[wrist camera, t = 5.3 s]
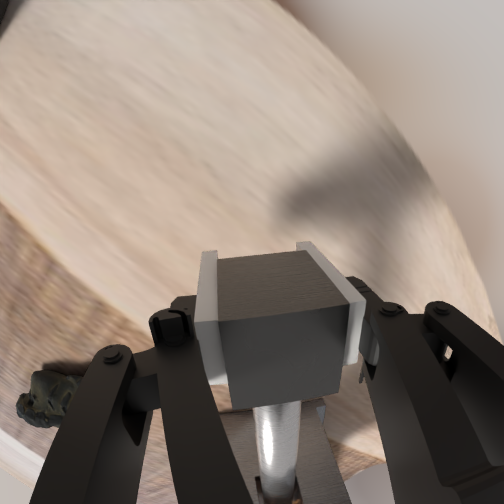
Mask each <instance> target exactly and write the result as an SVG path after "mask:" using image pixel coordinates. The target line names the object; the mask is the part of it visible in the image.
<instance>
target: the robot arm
mask: <svg viewBox="0 0 504 504" xmlns="http://www.w3.org/2000/svg"><path fill="white" fill-rule="evenodd" d="M7 4H8V0H0V23H1V21H2V18H3V16H4V13H5V10H6V7H7ZM301 250H306V251H307V252H308V253H309V254H310V255H311V257H312V258H313V259H314V260H315V261H316V263H317V264H318V265H319V266H320V267H321V269H322V270H323V271H324V272H325V273H326V275H327V276H328V277H329V278H330V280H331V281H332V282H333V283H334V284H335V286H336V287H337V288H338V289H339V291H340V292H341V293H342V294H343V295H344V297H345V298H346V299H347V300H348V302H349V303H350V309H349V319H348V328H347V337H346V345H345V352H344V359H343V366H344V365H349V364H353V363H357V359H358V354H359V351H360V353H361V354H362V356H363V357H364V358H363V363H362V368H361V373H360V378H359V383H362V381H363V378H364V377H365V380H366V384H367V387H368V391H369V394H370V398H371V401H372V405H373V409H374V413H375V416H376V420H377V424H378V428H379V432H380V436H381V440H382V444H383V449H384V453H385V457H386V462H387V466H388V471H389V475H390V480H391V485H392V490H393V495H394V500H395V504H504V346H503V345H502V344H501V343H500V342H498V341H497V340H496V339H495V338H494V337H492V336H491V335H490V334H489V333H487V332H486V331H485V330H484V329H482V328H481V327H480V326H479V325H477V324H476V323H475V322H473V321H472V320H471V319H470V318H468V317H467V316H466V315H464V314H463V313H462V312H460V311H459V310H458V309H456V308H455V307H454V306H452V305H450V304H448V303H445V302H443V301H435V302H430V303H428V304H427V305H426V307H425V312H424V314H408V312H407V311H406V309H405V308H404V307H403V306H401V305H399V304H396V303H392V302H383V301H382V300H381V299H380V298H379V297H378V296H377V295H376V294H375V293H374V292H373V291H372V290H371V289H370V288H369V287H368V286H367V285H366V284H365V283H364V282H363V281H362V280H360V279H358V278H356V277H354V276H352V277H344V276H343V275H342V274H341V273H340V272H339V270H338V269H337V268H336V267H335V266H334V265H333V264H332V263H331V262H330V261H329V260H328V259H327V258H326V257H325V256H324V255H323V254H322V253H321V252H320V251H319V250H318V249H317V248H316V247H315V246H314V245H313V244H312V243H311V242H310V241H308V242H297V243H296V251H301ZM217 259H218V254H217V250H214V251H204V252H202V257H201V264H200V272H199V281H198V289H197V295H192V296H180V297H177V298H176V299H175V300H174V301H173V302H172V303H171V306H170V308H167V309H164V310H160V311H158V312H156V313H154V314H153V315H152V316H151V317H150V319H149V326H150V330H151V333H152V337H153V341H154V344H155V347H153V348H151V349H149V350H146V351H143V352H139V353H135V354H132V351H131V350H130V348H129V347H127V346H125V345H120V344H116V345H109V346H106V347H104V348H103V349H101V350H99V351H98V352H97V353H96V355H95V356H94V358H93V360H92V362H91V363H90V365H89V367H88V369H87V371H86V373H85V375H84V377H83V379H82V381H81V383H80V385H79V387H78V389H77V391H76V393H75V395H74V397H73V399H72V401H71V403H70V405H69V407H68V409H67V412H66V414H65V416H64V418H63V420H62V422H61V425H60V427H59V429H58V431H57V433H56V436H55V438H54V440H53V443H52V445H51V447H50V450H49V452H48V455H47V457H46V459H45V462H44V464H43V467H42V470H41V472H40V475H39V477H38V480H37V483H36V485H35V488H34V491H33V494H32V497H31V500H30V503H29V504H136V501H137V495H138V489H139V483H140V477H141V471H142V466H143V460H144V455H145V450H146V445H147V440H148V435H149V430H150V425H151V420H152V415H153V410H155V409H159V408H161V412H162V419H163V426H164V433H165V439H166V445H167V451H168V457H169V462H170V467H171V472H172V477H173V482H174V487H175V491H176V496H177V500H178V504H254V503H253V500H252V498H251V496H250V493H249V491H248V489H247V486H246V484H245V481H244V479H243V477H242V474H241V472H240V469H239V467H238V464H237V461H236V459H235V456H234V454H233V451H232V448H231V446H230V443H229V440H228V438H227V435H226V432H225V429H224V426H223V424H222V421H221V418H220V415H219V412H218V409H217V406H216V403H215V400H214V397H213V394H212V391H211V388H210V385H217V384H228V380H227V374H226V368H225V362H224V356H223V350H222V344H221V337H220V331H219V324H218V300H217ZM448 346H449V347H450V348H451V349H452V350H453V351H452V354H451V357H450V359H447V358H446V357H445V353H446V350H447V347H448Z"/></svg>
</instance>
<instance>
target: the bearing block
mask: <svg viewBox="0 0 504 504" xmlns="http://www.w3.org/2000/svg"><path fill="white" fill-rule="evenodd" d="M325 408H326V404H325V402H324V400H323V398H322V399H318V400H313V401H308V402H303V403H301V413H300V427H299V440H298V452H297V463H296V473H295V483H294V492H293V501H292V504H352V503H351V500H350V497H349V495H348V492H347V490H346V487H345V484H344V481H343V479H342V476H341V473H340V471H339V468H338V465H337V463H336V460H335V457H334V455H333V452H332V449H331V447H330V444H329V441H328V439H327V436H326V433H325V431H324V428H323V421H324V415H325ZM219 415H220V418H221V421H222V424H223V426H224V429H225V432H226V435H227V438H228V440H229V443H230V446H231V448H232V451H233V454H234V456H235V459H236V461H237V464H238V467H239V469H240V472H241V474H242V477H243V479H244V481H245V484H246V486H247V489H248V491H249V493H250V496H251V498H252V500H253V503H254V504H264V501H263V493H262V485H261V477H260V469H259V461H258V453H257V444H256V436H255V427H254V419H253V410H251V411H242V412H233V413H222V414H219Z"/></svg>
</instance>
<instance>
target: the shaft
mask: <svg viewBox="0 0 504 504" xmlns="http://www.w3.org/2000/svg"><path fill="white" fill-rule="evenodd" d="M217 300H218V324H219V331H220V337H221V344H222V350H223V356H224V362H225V368H226V374H227V380H228V386H229V392H230V397H231V403H232V408H233V410H238V409H247V408H252V410H253V419H254V427H255V436H256V444H257V453H258V461H259V469H260V477H261V485H262V493H263V501H264V504H292V501H293V492H294V483H295V473H296V463H297V452H298V440H299V427H300V413H301V400H306V399H311V398H316V397H321V396H325V395H330V394H334V393H338V391H339V385H340V379H341V373H342V366H343V359H344V352H345V345H346V337H347V328H348V319H349V309H350V303H349V302H348V300H347V299H346V298H345V297H344V295H343V294H342V293H341V292H340V291H339V289H338V288H337V287H336V286H335V284H334V283H333V282H332V281H331V280H330V278H329V277H328V276H327V275H326V273H325V272H324V271H323V270H322V269H321V267H320V266H319V265H318V264H317V263H316V261H315V260H314V259H313V258H312V257H311V255H310V254H309V253H308V252H307V251H306V250H301V251H292V252H282V253H273V254H263V255H254V256H244V257H235V258H225V259H217Z"/></svg>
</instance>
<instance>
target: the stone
mask: <svg viewBox="0 0 504 504" xmlns="http://www.w3.org/2000/svg"><path fill="white" fill-rule="evenodd" d="M82 379H83V377H81V376H76V375H68V376H65V375H63V374H61V373H58V372H55V371H51V370H41V371H35V372H34V373H33V374H32V376H31V389H30V391H29V393H28V394H26V393H23V394H21V395H20V397H19V399H18V401H17V403H16V409H17V414H18V416H19V417H20V418H23V419H24V420H25V421H26V422H27V423H28V424H30V425H32V426H35V427H42V428H50V427H52V426H55V427H58V428H59V427H60V425H61V422H62V420H63V418H64V416H65V414H66V412H67V409H68V407H69V405H70V403H71V401H72V399H73V397H74V395H75V393H76V391H77V389H78V387H79V385H80V383H81V381H82Z"/></svg>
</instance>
